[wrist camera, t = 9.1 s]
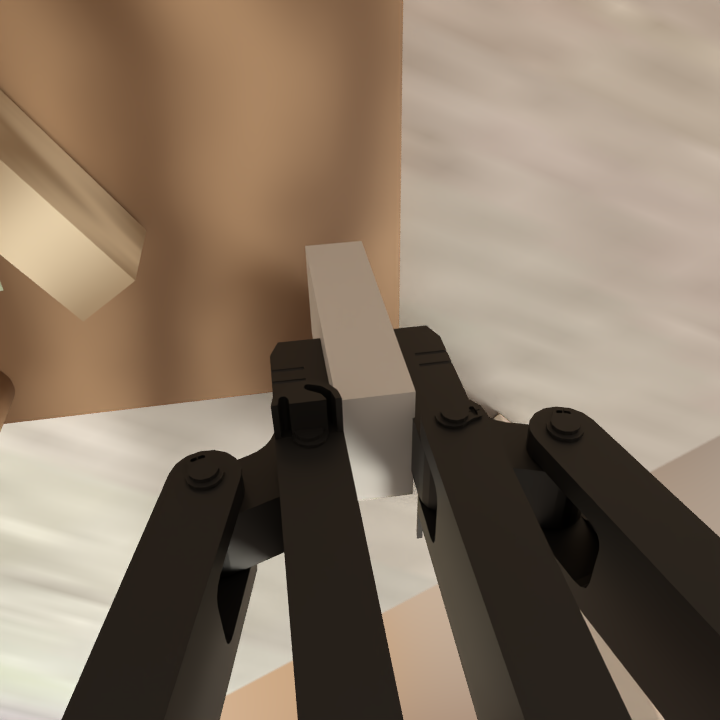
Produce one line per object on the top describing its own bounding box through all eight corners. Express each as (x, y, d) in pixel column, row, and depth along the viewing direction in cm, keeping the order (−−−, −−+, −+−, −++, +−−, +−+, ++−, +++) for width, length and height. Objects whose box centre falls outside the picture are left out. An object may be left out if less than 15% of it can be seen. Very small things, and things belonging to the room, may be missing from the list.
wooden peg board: (-37, 401, 31) (-105, 537, 25) (-290, -139, 19) (-544, -150, 13) (389, 353, 33) (429, 465, 27) (391, -154, 22) (461, -170, 15)
